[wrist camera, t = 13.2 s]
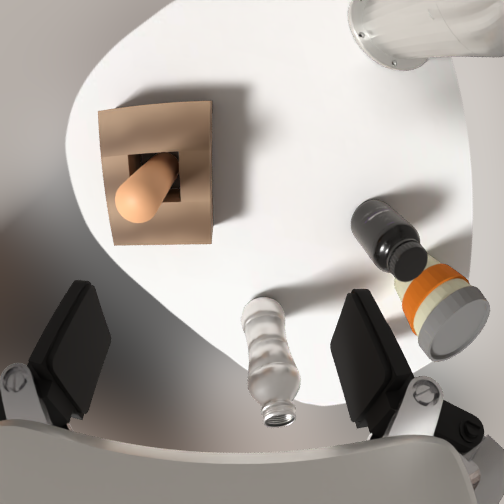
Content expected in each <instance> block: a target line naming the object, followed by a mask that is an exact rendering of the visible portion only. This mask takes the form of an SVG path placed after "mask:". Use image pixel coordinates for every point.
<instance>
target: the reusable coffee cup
mask: <svg viewBox="0 0 504 504" xmlns="http://www.w3.org/2000/svg"><path fill="white" fill-rule="evenodd" d="M427 255H428V256H427V257H428V262H427V265H426V267H425V269H424V271H423V272H422V273H421V274H420V275H419V276H418V277H417V278H416V279H413V280H412V281H409V282H402V281H399V280H397V279H396V278H395V280H394V286H395V289H396V291H397V294H398V296H399V298H400V300H401V302H402V308H403V311H404V313H405V316H406V318H407V320H408V322H409V324H410V327H411V329H412V331H413V333H414V334H415V335H417V336H418V343H419V346H420V347H421V349H422V350H423V351H424V352H425V354H426V355H427V356H428V357H429V359H431V360H432V361H438V362H439V361H444V360H447V359H449V358H451V357H453V356H455V355H457V354H458V353H460V352H461V351H462V350H464V349H465V348H466V347H467V346H468V345H470V344H471V343H472V342H473V341H474V339H475V338H476V337H477V336H478V334H479V333H480V332H481V330H482V329H483V327H484V326H485V324H486V322H487V319H488V316H489V312H490V305H489V303H488V301H487V300H486V298H485V297H484V296H483V294H482V293H481V291H480V290H479V289H478V288H477V287H474V286H471V285H470V284H469V281H468V280H467V279H466V278H465V277H464V276H462V275H461V274H460V273H458V272H457V271H456V270H454V269H453V268H451V267H450V266H449V265H446V264H442V263H440V262H439V261H438V260H436V259H435V258H433V257H432V256H430V255H429V254H427Z"/></svg>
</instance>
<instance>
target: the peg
mask: <svg viewBox="0 0 504 504" xmlns="http://www.w3.org/2000/svg"><path fill="white" fill-rule="evenodd" d="M178 174H179V161H178V160H177V158H176V157H175V156H174V155H172V154H171V153H168V152H160V153H157V154H156V155H154V156H153V157H152V158H151V159H149V160H148V161H147V162H146V163H145V164H144V165H143V166H141V167H140V168H139V169H138V170H137V171H136V172H135V173H134V174H132V175H131V176H130V177H129V178H128V179H127V180H126V181H125V182H124V183H123V184H122V185H121V186H120V187H119V188H118V190H117V192H116V196H115V204H116V208H117V210H118V212H119V213H120V214H121V216H122V217H123V218H125V219H126V220H128V221H130V222H133V223H144V222H147V221H149V220H150V219H152V218H153V217H154V215H155V214H156V212H157V210H158V209H159V207H160V205H161V203H162V202H163V200H164V198H165V196H166V195H167V193H168V191H169V189H170V188H171V186H172V184H173V183H174V181H175V179H176V178H177V176H178Z"/></svg>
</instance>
